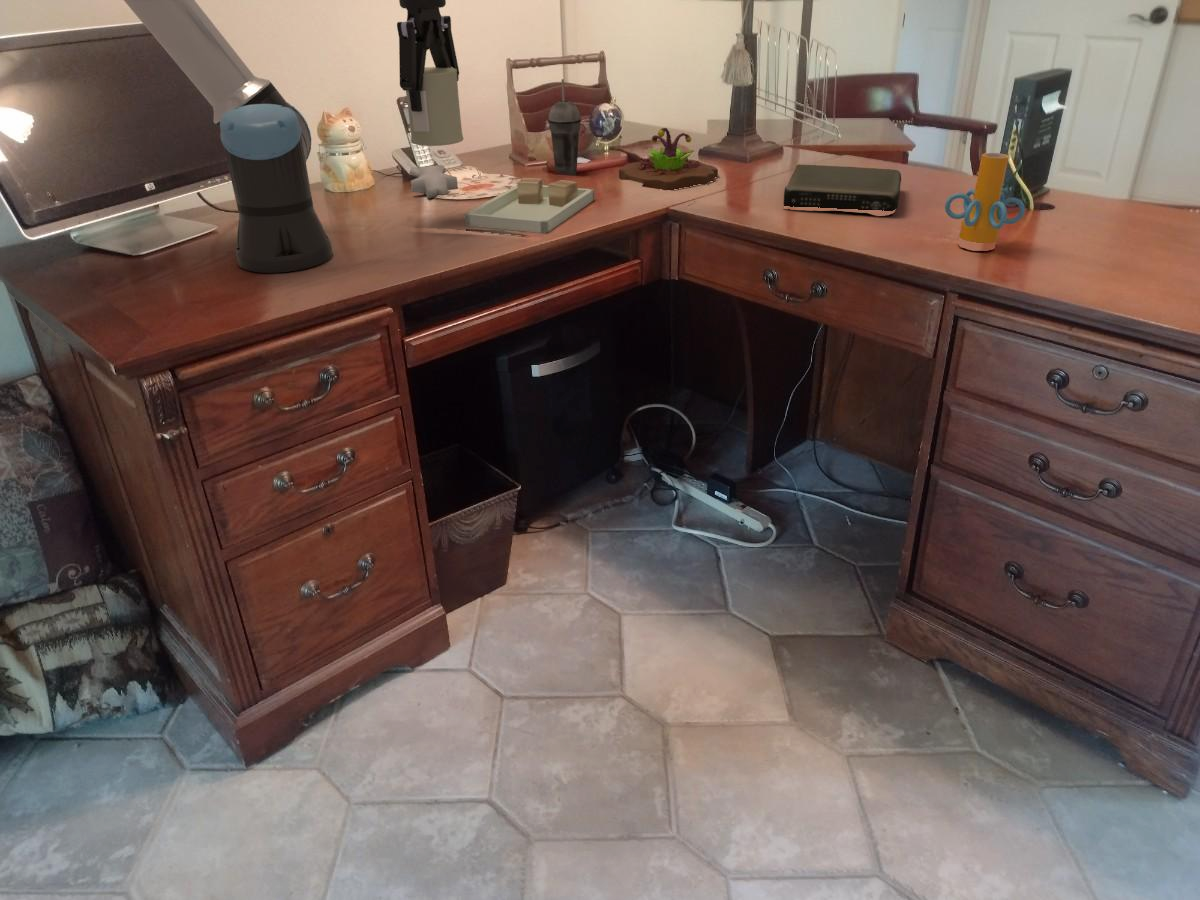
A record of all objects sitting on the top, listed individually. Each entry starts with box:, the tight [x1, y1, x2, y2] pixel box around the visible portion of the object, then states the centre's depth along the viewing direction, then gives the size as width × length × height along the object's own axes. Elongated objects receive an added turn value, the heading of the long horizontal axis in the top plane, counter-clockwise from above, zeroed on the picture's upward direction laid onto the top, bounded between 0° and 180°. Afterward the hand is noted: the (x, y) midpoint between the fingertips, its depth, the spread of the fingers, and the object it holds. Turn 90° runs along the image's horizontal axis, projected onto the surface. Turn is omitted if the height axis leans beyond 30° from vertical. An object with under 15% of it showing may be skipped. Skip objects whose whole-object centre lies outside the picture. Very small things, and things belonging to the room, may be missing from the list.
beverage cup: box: [547, 78, 582, 177], centre depth 191 cm, size 7×7×20 cm
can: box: [405, 66, 464, 147], centre depth 152 cm, size 9×9×12 cm
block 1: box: [516, 177, 544, 204], centre depth 172 cm, size 4×4×4 cm
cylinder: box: [944, 152, 1026, 243], centre depth 144 cm, size 12×10×15 cm
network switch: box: [783, 164, 902, 211], centre depth 173 cm, size 23×23×5 cm
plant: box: [618, 127, 719, 191], centre depth 189 cm, size 20×20×11 cm
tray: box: [463, 184, 595, 237], centre depth 166 cm, size 24×16×3 cm, turn 160°
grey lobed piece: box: [409, 164, 459, 199], centre depth 183 cm, size 10×5×15 cm
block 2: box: [547, 179, 579, 207], centre depth 170 cm, size 4×4×4 cm
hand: (435, 126), depth 154 cm, fingers closed on can, 9 cm apart
